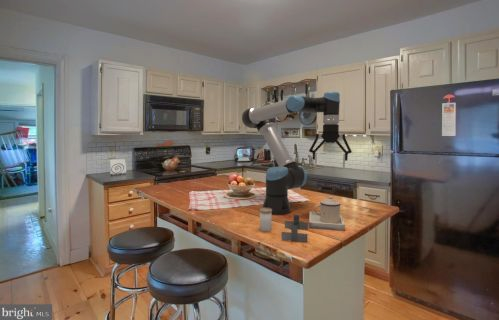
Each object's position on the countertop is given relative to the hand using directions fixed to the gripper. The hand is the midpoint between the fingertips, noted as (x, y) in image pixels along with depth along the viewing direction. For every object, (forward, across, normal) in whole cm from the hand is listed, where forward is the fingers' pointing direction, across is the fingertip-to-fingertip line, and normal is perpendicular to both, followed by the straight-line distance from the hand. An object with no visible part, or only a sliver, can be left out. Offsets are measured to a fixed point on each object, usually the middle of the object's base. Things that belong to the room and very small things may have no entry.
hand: (329, 166), depth 139 cm
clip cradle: (+25, -12, -31) cm, 42 cm away
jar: (+25, -26, -29) cm, 46 cm away
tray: (+25, -1, -12) cm, 28 cm away
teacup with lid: (+24, 0, -12) cm, 27 cm away
